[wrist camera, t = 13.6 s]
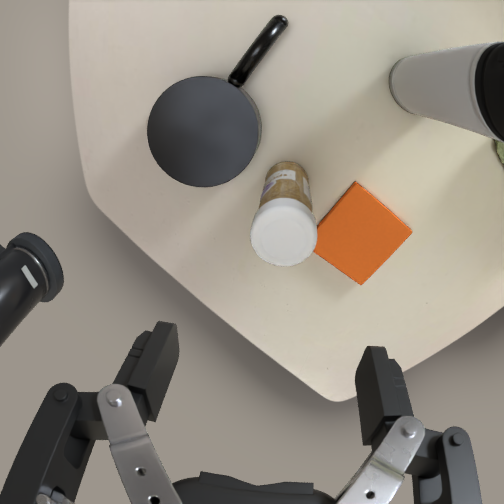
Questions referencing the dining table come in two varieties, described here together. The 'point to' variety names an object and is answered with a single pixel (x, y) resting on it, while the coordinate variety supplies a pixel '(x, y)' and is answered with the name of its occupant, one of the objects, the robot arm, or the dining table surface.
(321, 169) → the dining table surface
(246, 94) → the pan
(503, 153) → the washcloth
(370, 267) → the orange square coaster
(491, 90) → the travel mug
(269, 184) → the sprinkles bottle
